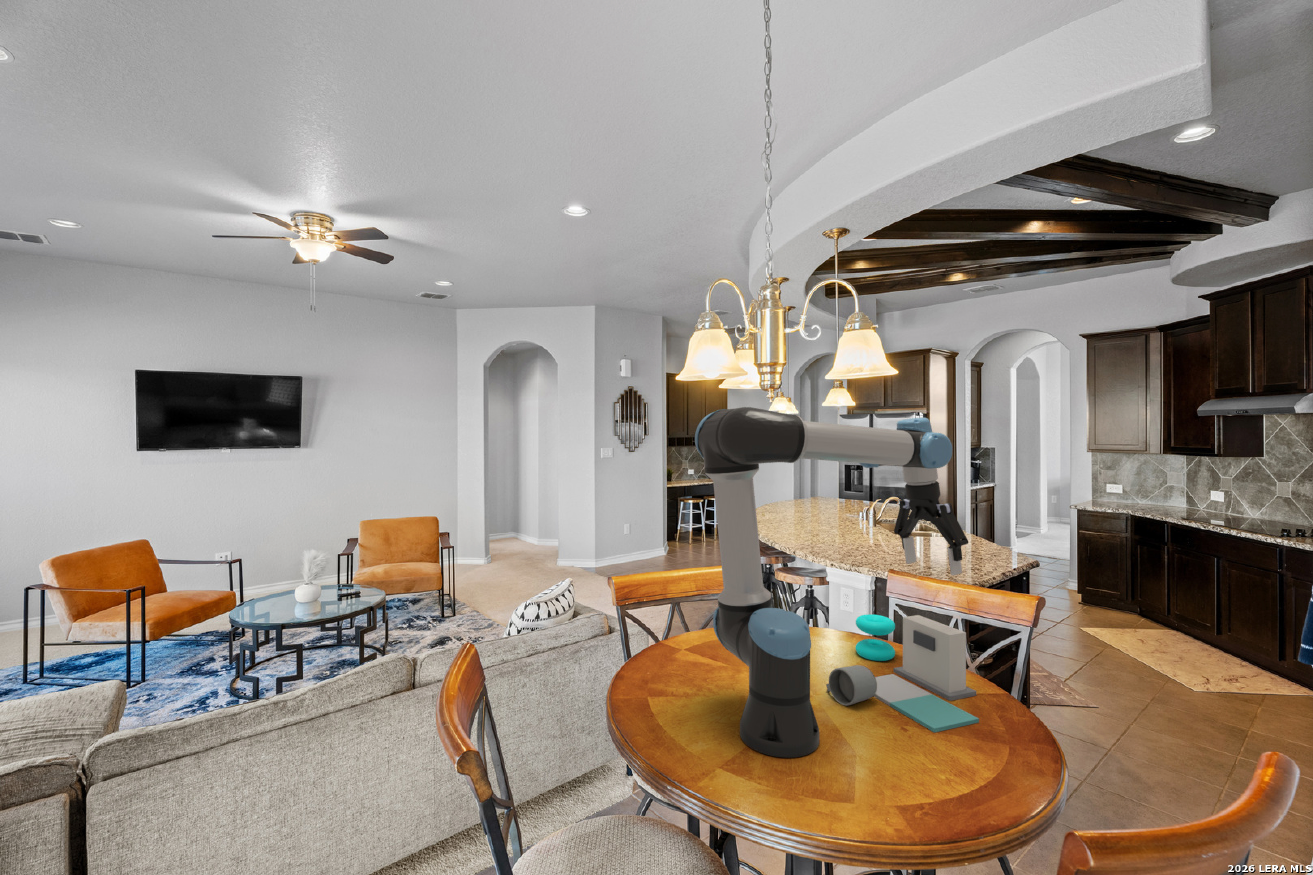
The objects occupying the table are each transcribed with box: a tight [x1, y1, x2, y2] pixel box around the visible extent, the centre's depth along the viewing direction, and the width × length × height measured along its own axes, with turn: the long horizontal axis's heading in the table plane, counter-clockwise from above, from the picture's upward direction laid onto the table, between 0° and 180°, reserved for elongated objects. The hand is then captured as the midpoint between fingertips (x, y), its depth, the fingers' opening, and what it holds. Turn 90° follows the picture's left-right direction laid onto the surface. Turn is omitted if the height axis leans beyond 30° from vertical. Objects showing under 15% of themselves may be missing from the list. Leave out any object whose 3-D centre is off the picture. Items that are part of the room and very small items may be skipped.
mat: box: [873, 673, 980, 733], centre depth 127 cm, size 12×24×1 cm, turn 21°
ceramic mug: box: [825, 664, 877, 706], centre depth 129 cm, size 11×8×8 cm
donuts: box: [855, 614, 896, 662], centre depth 155 cm, size 10×10×10 cm
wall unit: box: [893, 614, 977, 702], centre depth 137 cm, size 8×17×14 cm, turn 21°
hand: (933, 568), depth 139 cm, fingers open, 13 cm apart
